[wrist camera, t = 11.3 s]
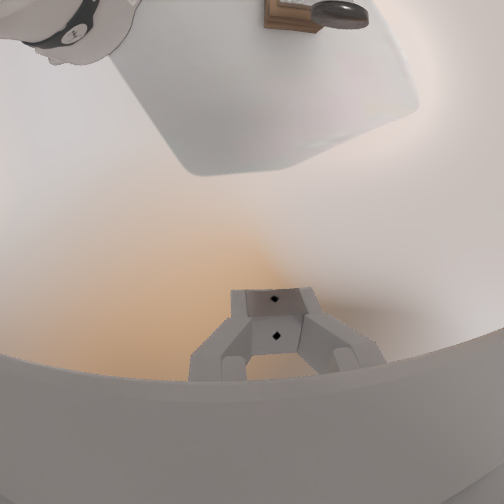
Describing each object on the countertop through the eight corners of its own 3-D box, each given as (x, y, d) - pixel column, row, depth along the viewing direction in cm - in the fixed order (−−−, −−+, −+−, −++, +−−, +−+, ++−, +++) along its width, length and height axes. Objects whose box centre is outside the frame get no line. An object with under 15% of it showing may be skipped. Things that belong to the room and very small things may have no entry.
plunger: (327, 60, 32) (402, 28, 15) (273, 53, 32) (314, 4, 14) (326, -1, 27) (389, -56, 10) (274, -8, 27) (309, -80, 9)
